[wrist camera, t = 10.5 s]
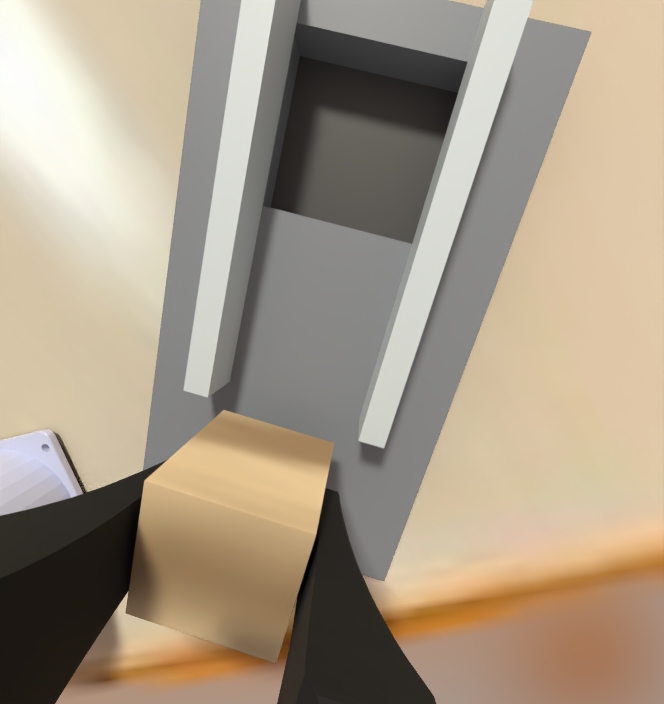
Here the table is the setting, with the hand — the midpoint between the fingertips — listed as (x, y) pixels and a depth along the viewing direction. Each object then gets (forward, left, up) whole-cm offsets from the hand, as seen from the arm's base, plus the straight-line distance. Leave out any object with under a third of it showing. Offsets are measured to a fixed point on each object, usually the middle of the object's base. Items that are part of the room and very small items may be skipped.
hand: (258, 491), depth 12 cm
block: (0, 0, -1) cm, 1 cm away
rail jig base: (+5, -3, -5) cm, 8 cm away
